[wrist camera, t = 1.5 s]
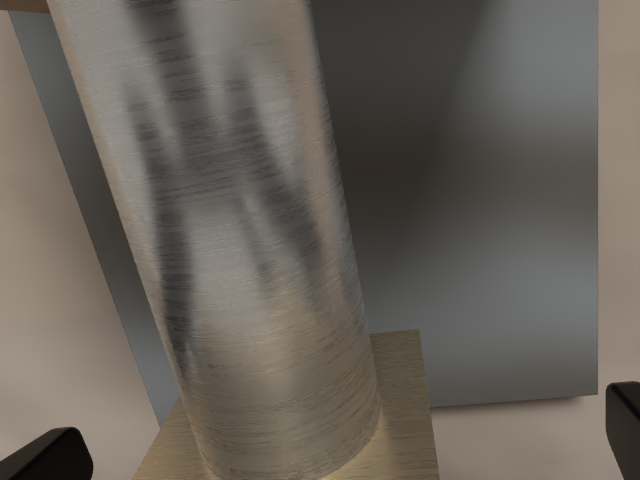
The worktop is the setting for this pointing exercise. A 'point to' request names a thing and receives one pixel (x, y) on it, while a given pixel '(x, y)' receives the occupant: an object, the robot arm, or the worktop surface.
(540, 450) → the worktop surface
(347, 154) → the bearing block
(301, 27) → the shaft
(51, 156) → the worktop surface
